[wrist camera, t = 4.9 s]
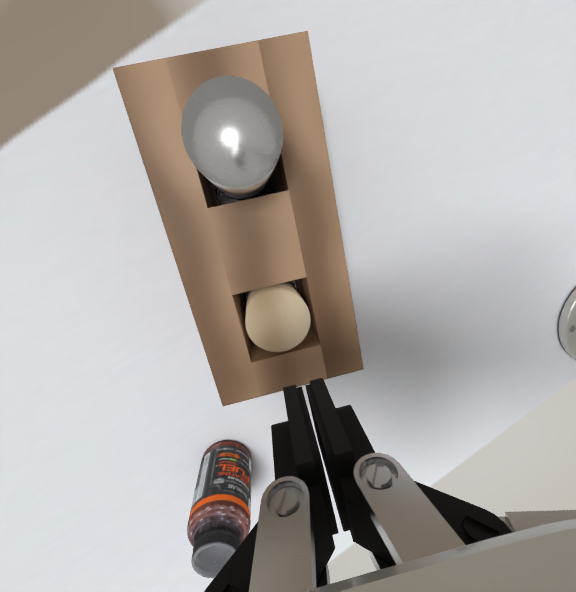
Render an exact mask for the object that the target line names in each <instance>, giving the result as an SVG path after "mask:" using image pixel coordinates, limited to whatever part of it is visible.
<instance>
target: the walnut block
mask: <svg viewBox="0 0 576 592" xmlns="http://www.w3.org/2000/svg"><path fill="white" fill-rule="evenodd" d="M113 71H114V74H115V77H116V80H117V83H118V86H119V89H120V92H121V95H122V98H123V102H124V105H125V108H126V111H127V114H128V117H129V120H130V123H131V126H132V129H133V132H134V135H135V138H136V141H137V144H138V147H139V151H140V154H141V157H142V160H143V163H144V166H145V169H146V172H147V175H148V178H149V181H150V184H151V187H152V190H153V193H154V197H155V200H156V203H157V206H158V209H159V212H160V215H161V218H162V221H163V224H164V227H165V230H166V233H167V236H168V239H169V242H170V246H171V249H172V252H173V255H174V258H175V261H176V264H177V267H178V270H179V273H180V276H181V279H182V282H183V285H184V288H185V291H186V295H187V298H188V301H189V304H190V307H191V310H192V313H193V316H194V319H195V322H196V325H197V328H198V331H199V334H200V337H201V341H202V344H203V347H204V350H205V353H206V356H207V359H208V362H209V365H210V368H211V371H212V374H213V377H214V380H215V383H216V386H217V390H218V393H219V396H220V399H221V402H222V405H223V406H226V405H230V404H234V403H237V402H241V401H245V400H249V399H253V398H256V397H260V396H264V395H268V394H271V393H275V392H279V391H283V387H287V386H291V385H295V384H296V387H298V386H302V385H306V384H309V383H310V381H311V380H314V379H318V378H323V380H324V379H328V378H332V377H336V376H340V375H343V374H347V373H351V372H355V371H358V370H362V369H363V363H362V357H361V351H360V345H359V339H358V333H357V327H356V321H355V315H354V308H353V302H352V296H351V290H350V284H349V278H348V272H347V266H346V260H345V254H344V248H343V242H342V236H341V230H340V224H339V218H338V212H337V206H336V200H335V194H334V188H333V181H332V175H331V169H330V163H329V157H328V151H327V145H326V139H325V133H324V127H323V121H322V115H321V109H320V103H319V97H318V91H317V85H316V79H315V73H314V67H313V61H312V54H311V48H310V42H309V36H308V31H305V32H299V33H294V34H289V35H284V36H278V37H273V38H268V39H263V40H257V41H252V42H247V43H242V44H236V45H231V46H226V47H221V48H216V49H210V50H205V51H200V52H195V53H189V54H184V55H179V56H174V57H168V58H163V59H158V60H153V61H147V62H142V63H137V64H132V65H126V66H121V67H116V68H113ZM220 76H236V77H241V78H244V79H247V80H249V81H251V82H253V83H255V84H256V85H258V86H259V87H260V88H261V89H263V90H264V91H265V92H266V93H267V94H268V96H269V97H270V98H271V99H272V101H273V102H274V104H275V106H276V108H277V110H278V112H279V115H280V118H281V122H282V127H283V145H282V149H281V153H280V156H279V159H278V161H277V163H276V165H275V167H274V170H273V172H272V176H273V180H274V185H275V189H276V193H274V194H269V195H265V196H261V197H256V198H252V199H247V200H243V201H238V202H234V203H229V204H225V205H220V206H219V203H218V200H217V196H216V192H215V188H214V185H213V183H212V182H211V181H210V180H208V179H207V178H206V177H205V176H204V175H203V174H202V173H201V172H200V171H199V170H198V169H197V168H196V167H195V165H194V164H193V163H192V161H191V160H190V158H189V156H188V154H187V152H186V150H185V147H184V144H183V139H182V132H181V121H182V115H183V111H184V108H185V105H186V103H187V101H188V99H189V98H190V96H191V95H192V93H193V92H194V91H195V90H196V89H197V88H198V87H199V86H200V85H202V84H203V83H205V82H206V81H208V80H210V79H213V78H216V77H220ZM292 280H295V282H296V286H297V291H298V293H299V294H300V296H301V298H302V299H303V301H304V302H305V304H306V305H307V307H308V309H309V313H310V328H309V331H308V333H307V335H306V337H305V338H304V339H303V341H302V342H301V343H300V344H298V345H297V346H296V347H294V348H292V349H290V350H287V351H283V352H271V351H267V350H264V349H262V348H260V347H258V346H257V345H256V344H255V343H254V342H253V341H252V340H251V339H250V337H249V335H248V333H247V330H246V324H245V319H246V303H245V299H244V295H243V292H247V291H251V290H255V289H259V288H264V287H268V286H272V285H276V284H280V283H284V282H288V281H292Z"/></svg>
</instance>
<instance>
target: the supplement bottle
mask: <svg viewBox="0 0 576 592" xmlns="http://www.w3.org/2000/svg"><path fill="white" fill-rule="evenodd" d="M250 514H251V457H250V454H249V452H248V451H247V449H246V448H245V447H244V446H242V445H241V444H239V443H236V442H232V441H223V442H219V443H216V444H214V445H212V446H211V447H210V448H209V449H208V450H207V451H206V452H205V454H204V455H203V458H202V461H201V465H200V470H199V475H198V479H197V484H196V488H195V493H194V498H193V502H192V507H191V511H190V516H189V521H188V527H187V534H188V538H189V541H190V543H191V544H192V546H193V547H194V548H193V555H192V567H193V568H194V570H195V571H196V572H197V573H198V574H200V575H201V576H203V577H207V578H215V577H216V575H217V574H218V573H219V572H220V570H221V569H222V568H223V566H224V565H225V564H226V562H227V561H228V560H229V559H230V557H231V556H232V555H233V553H234V552H235V551H236V550H237V548H238V547H239V546H240V544H241V543H242V542H243V540H244V539H245V538H246V537H247V535H248V533H249V530H250Z"/></svg>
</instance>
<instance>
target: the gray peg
mask: <svg viewBox="0 0 576 592" xmlns="http://www.w3.org/2000/svg"><path fill="white" fill-rule="evenodd" d="M181 132H182V139H183V144H184V147H185V150H186V152H187V154H188V156H189V158H190V160H191V161H192V163H193V164H194V165H195V167H196V168H197V169H198V170H199V171H200V172H201V173H202V174H203V175H204V176H205V177H206V178H207V179H208V180H210V181H211V182H212V183H213V184H214V185H215V186H216V187H217V188H218V189H219V190H220V191H222V192H223V193H224V194H226V195H228V196H230V197H233V198H238V199H245V198H250V197H253V196H255V195H256V194H258V193H259V192H261V191H262V190H263V189H264V187H265V186H266V185H267V183H268V181H269V179H270V176H271V174H272V172H273V170H274V167H275V165H276V163H277V161H278V159H279V156H280V153H281V149H282V145H283V127H282V122H281V118H280V115H279V112H278V110H277V108H276V106H275V104H274V102H273V101H272V99H271V98H270V97H269V96H268V94H267V93H266V92H265V91H264V90H263V89H261V88H260V87H259V86H258V85H256V84H255V83H253V82H251V81H249V80H247V79H244V78H241V77H236V76H220V77H216V78H213V79H210V80H208V81H206V82H205V83H203V84H202V85H200V86H199V87H198V88H197V89H196V90H195V91H194V92H193V93H192V95H191V96H190V98H189V99H188V101H187V103H186V105H185V108H184V111H183V115H182V121H181Z"/></svg>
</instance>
